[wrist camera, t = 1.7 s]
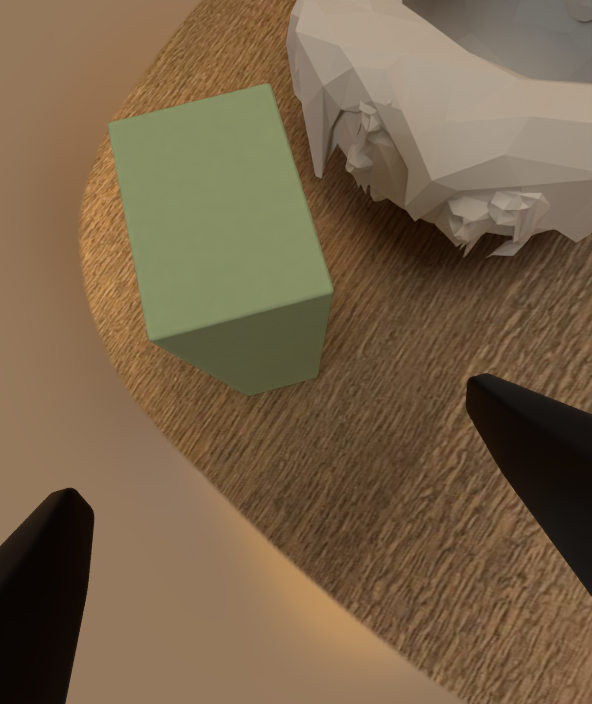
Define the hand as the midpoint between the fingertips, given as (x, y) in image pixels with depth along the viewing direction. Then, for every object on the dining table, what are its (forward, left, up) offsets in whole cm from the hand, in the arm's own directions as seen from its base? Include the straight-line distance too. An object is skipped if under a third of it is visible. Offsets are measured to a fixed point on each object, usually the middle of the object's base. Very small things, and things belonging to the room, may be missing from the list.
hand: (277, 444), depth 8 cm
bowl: (+13, -16, -12) cm, 24 cm away
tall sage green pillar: (+5, -1, -12) cm, 13 cm away
